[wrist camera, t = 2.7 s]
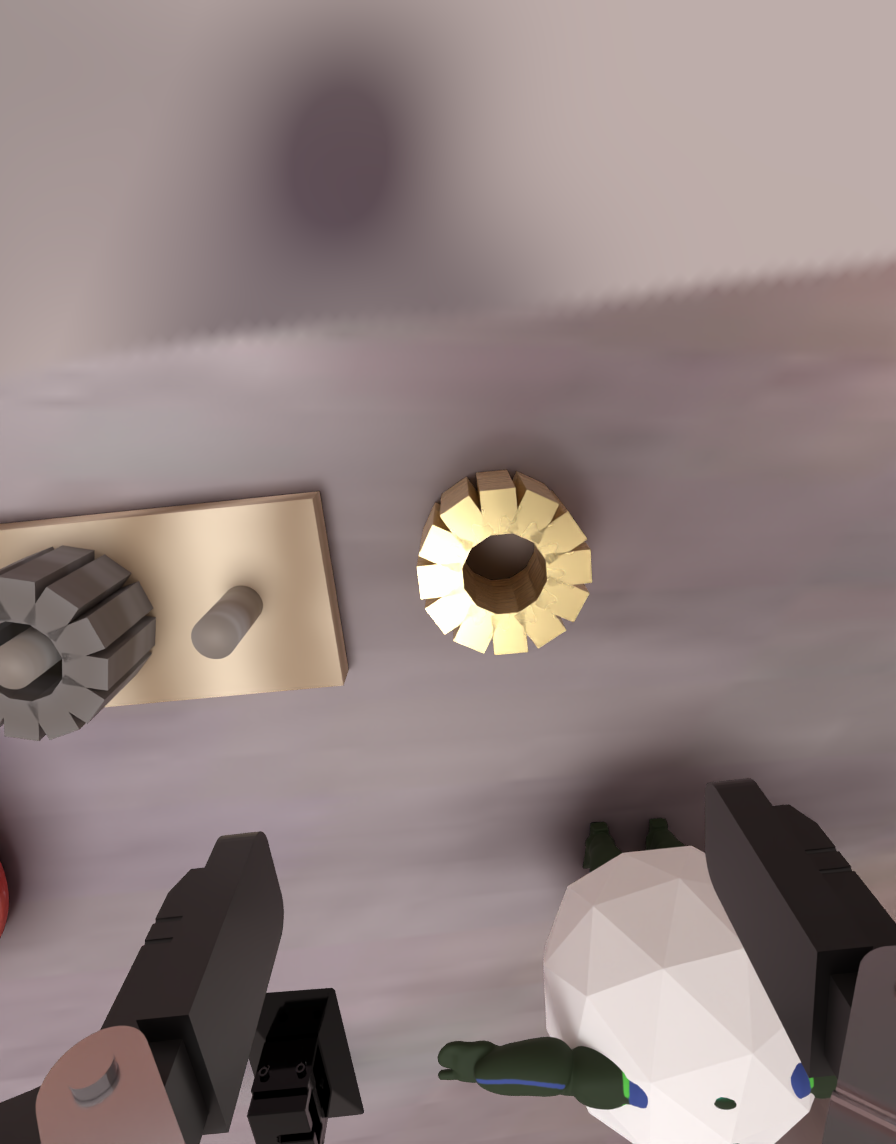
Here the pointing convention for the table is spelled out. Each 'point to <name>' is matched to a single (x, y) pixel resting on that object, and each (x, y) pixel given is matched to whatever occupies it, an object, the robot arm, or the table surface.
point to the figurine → (652, 1010)
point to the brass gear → (502, 603)
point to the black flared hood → (300, 1068)
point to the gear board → (164, 609)
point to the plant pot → (3, 899)
